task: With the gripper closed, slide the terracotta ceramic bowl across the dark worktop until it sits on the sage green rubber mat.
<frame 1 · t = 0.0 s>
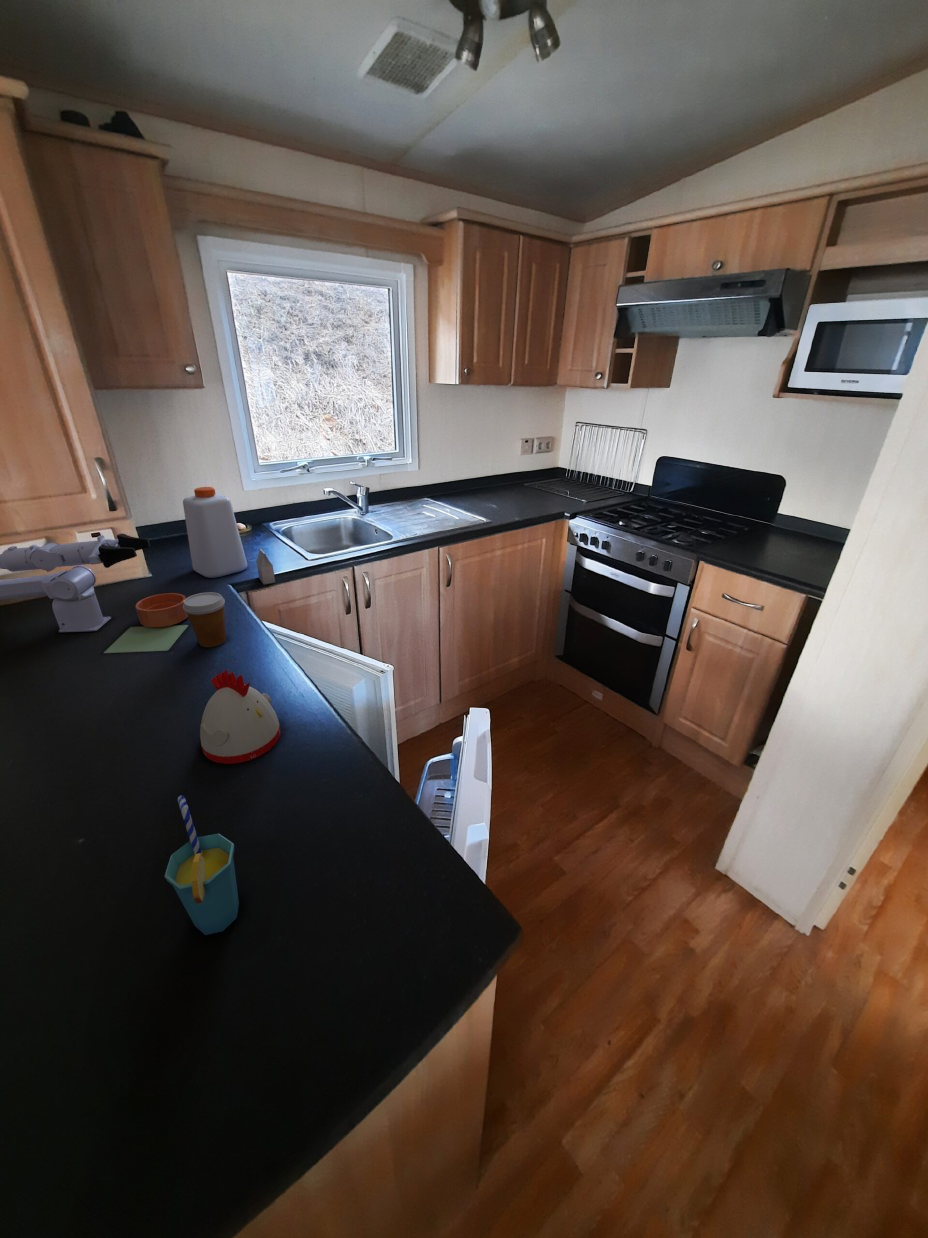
hand: (142, 547, 130), 22 cm above the countertop, tool horizontal, fingers open, 7 cm apart
kitchen timer: (242, 739, 97), on the countertop
plastic bottle: (221, 570, 176), on the countertop
cup: (216, 910, 67), on the countertop
bowl: (165, 619, 141), on the countertop, touching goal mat
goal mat: (148, 638, 131), on the countertop
disposable coffee cup: (213, 642, 131), on the countertop
beige gable carton: (267, 580, 168), on the countertop
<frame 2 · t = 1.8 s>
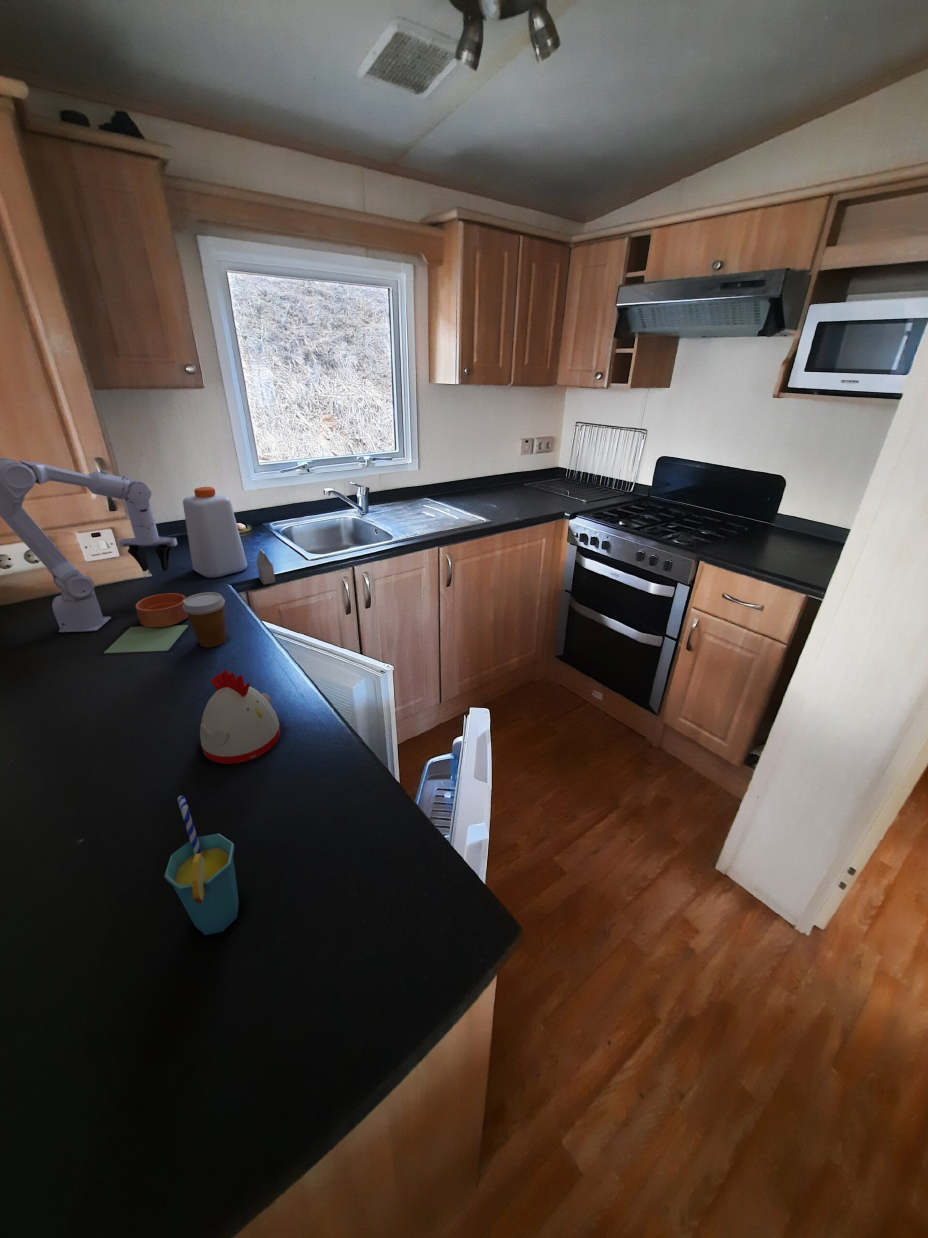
hand: (155, 569, 147), 10 cm above the countertop, tool pointing down, fingers open, 5 cm apart
nothing on the countertop moved.
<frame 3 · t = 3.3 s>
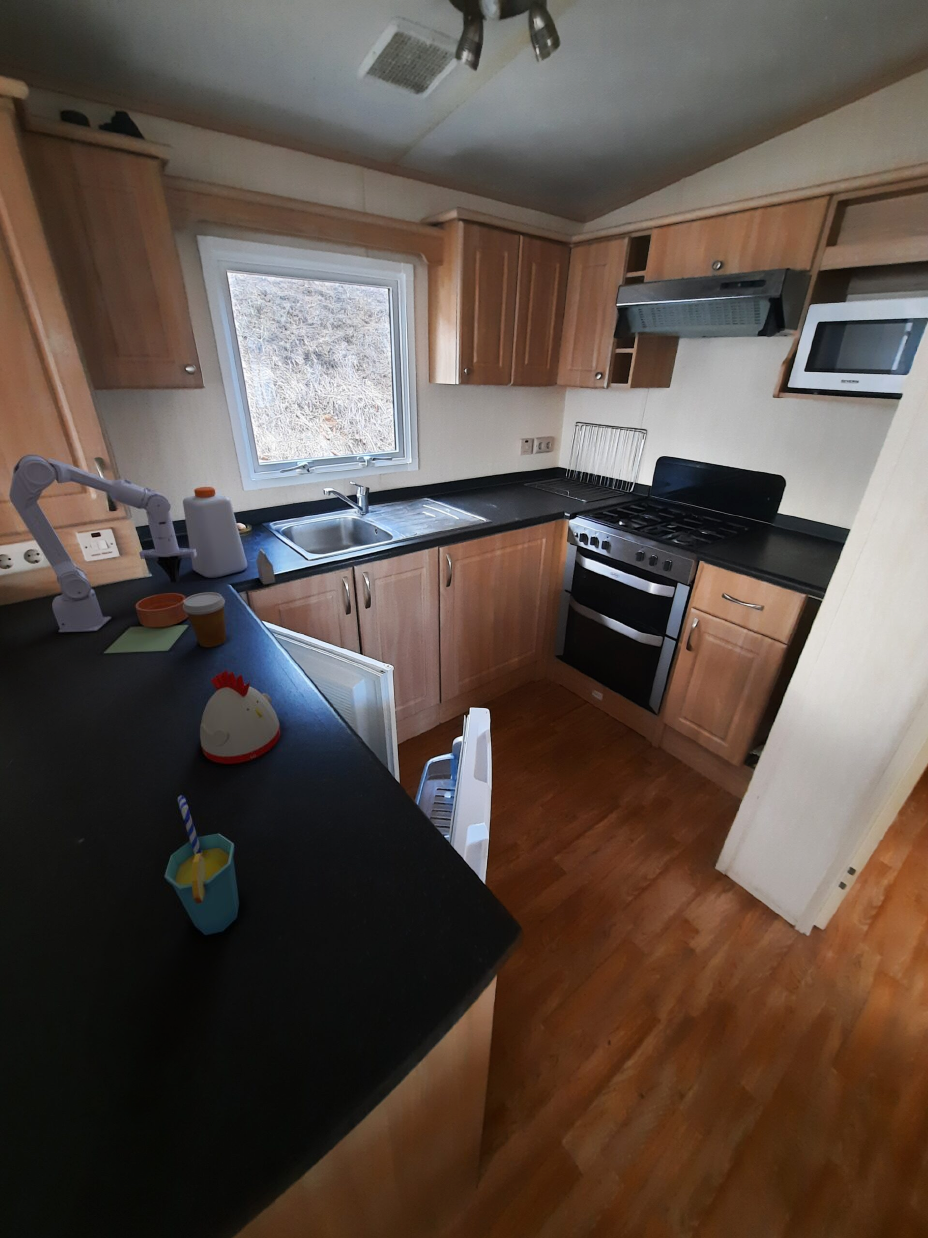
hand: (175, 580, 148), 7 cm above the countertop, tool pointing down, fingers closed
nothing on the countertop moved.
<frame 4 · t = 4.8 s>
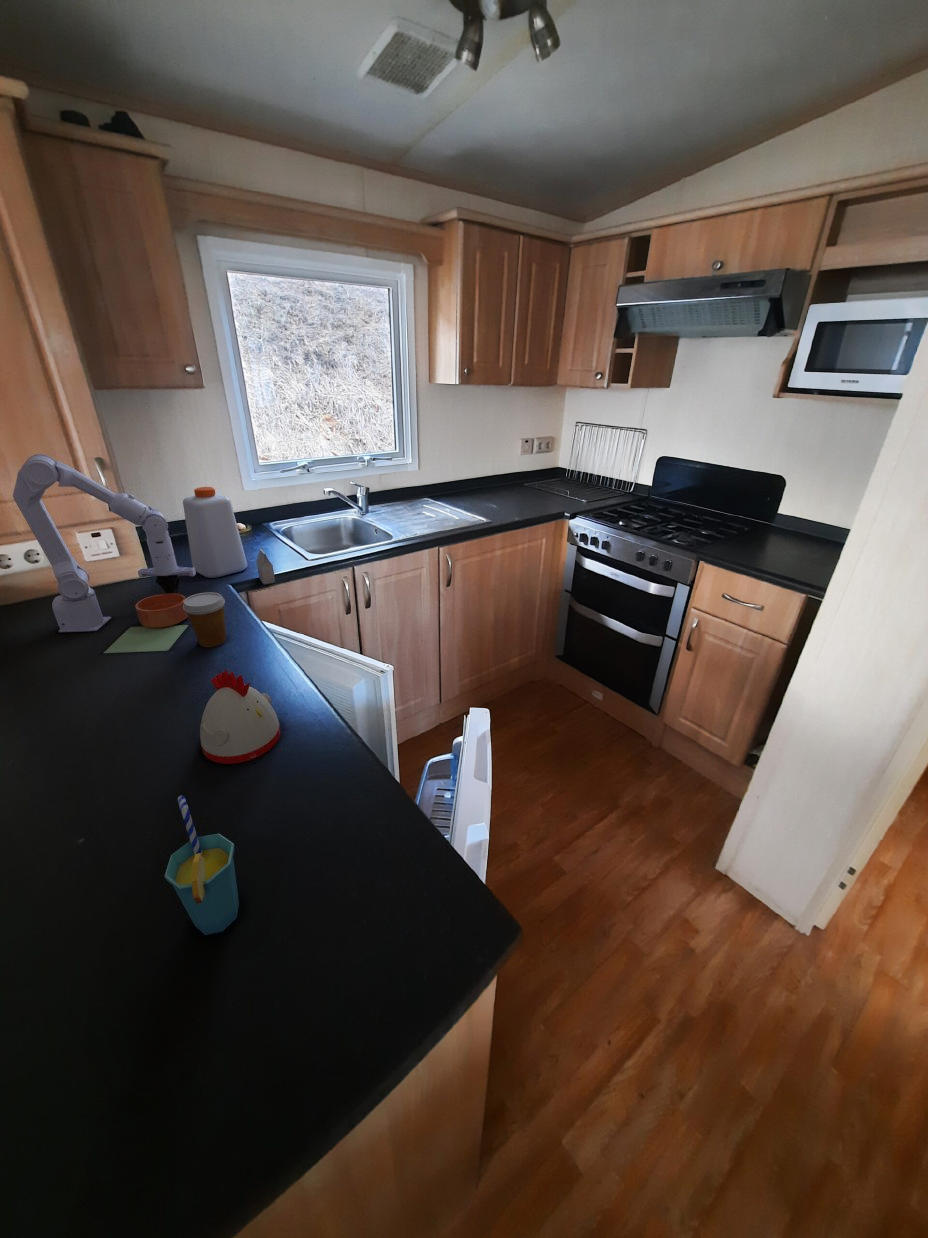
hand: (174, 599, 147), 3 cm above the countertop, tool pointing down, fingers closed, pressing on bowl
bowl: (165, 619, 141), on the countertop, touching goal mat, gripper
everything else where it was.
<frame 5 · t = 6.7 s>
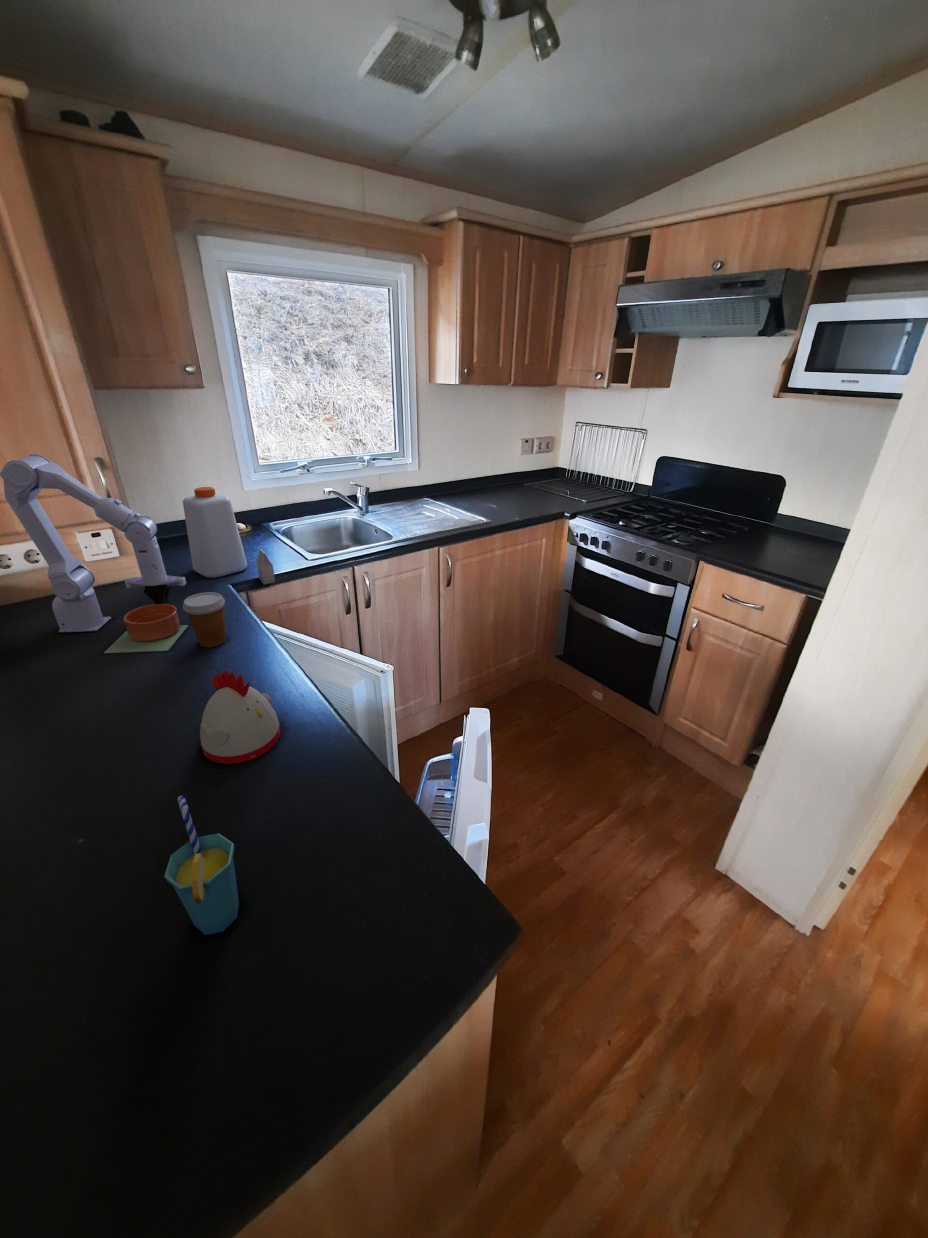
hand: (163, 609, 140), 3 cm above the countertop, tool pointing down, fingers closed, pressing on bowl
bowl: (155, 632, 134), resting on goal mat, touching gripper
everything else where it was.
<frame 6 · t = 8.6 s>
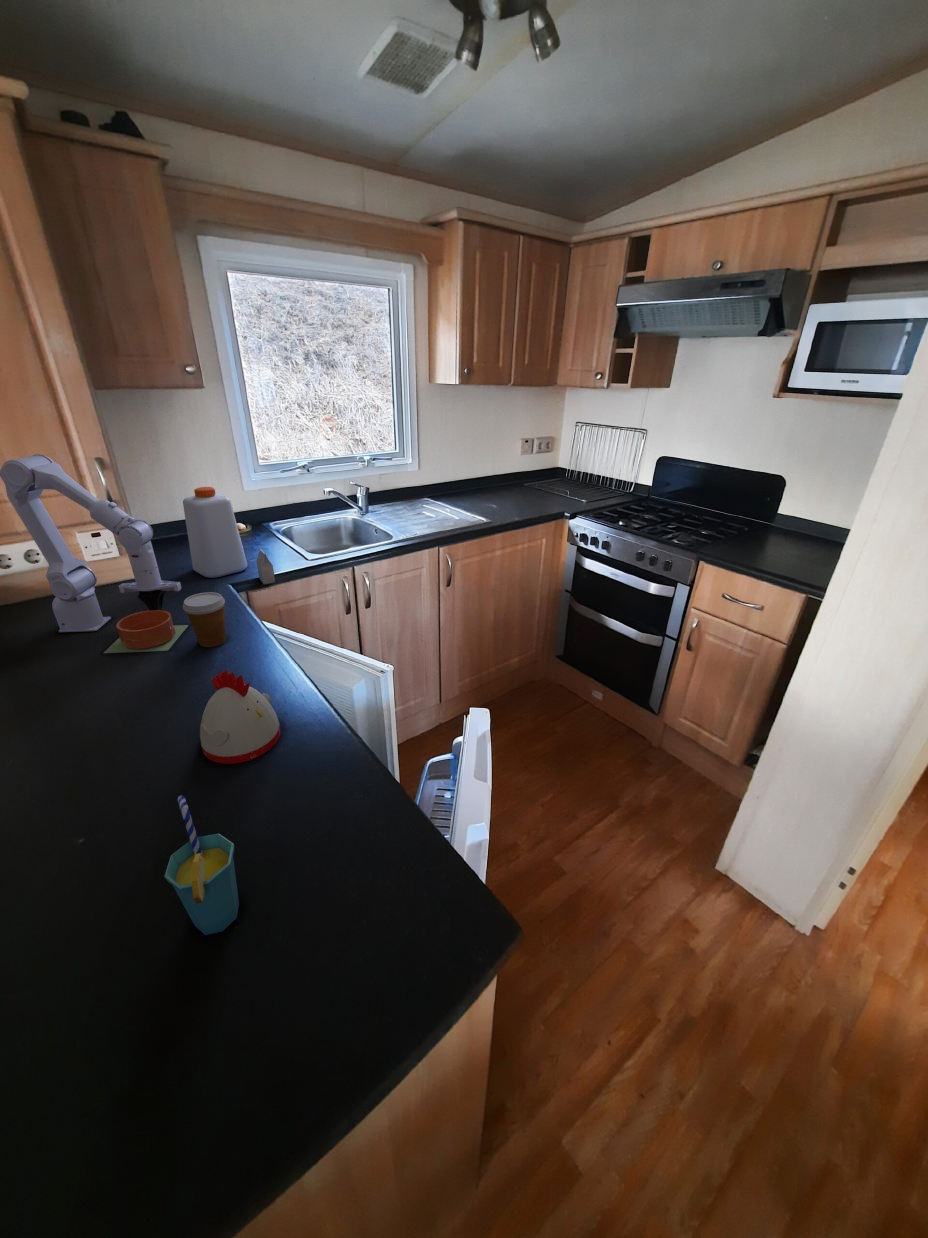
hand: (158, 615, 137), 3 cm above the countertop, tool pointing down, fingers closed
bowl: (149, 639, 131), resting on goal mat
everything else where it was.
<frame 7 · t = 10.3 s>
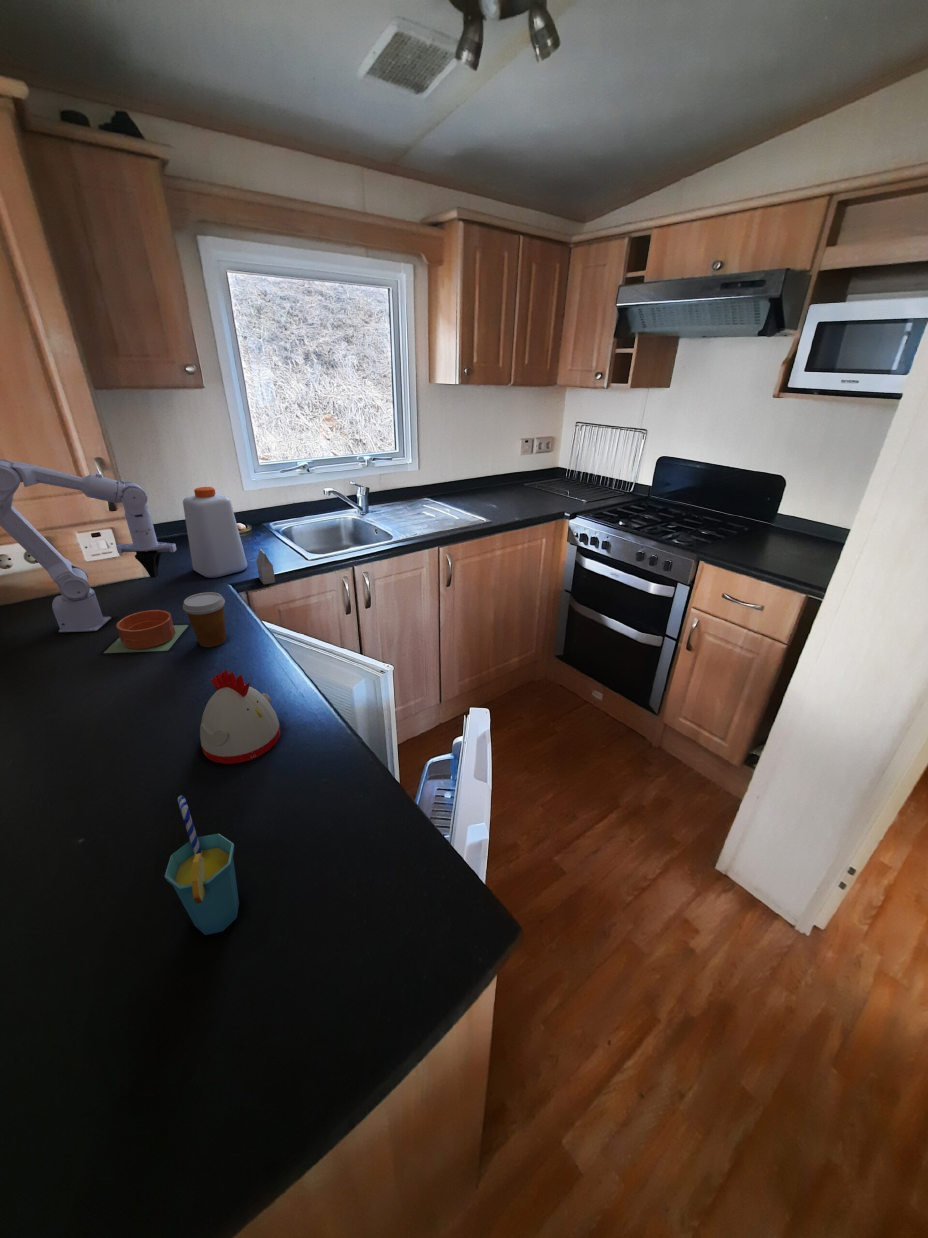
hand: (154, 576, 142), 10 cm above the countertop, tool pointing down, fingers closed
nothing on the countertop moved.
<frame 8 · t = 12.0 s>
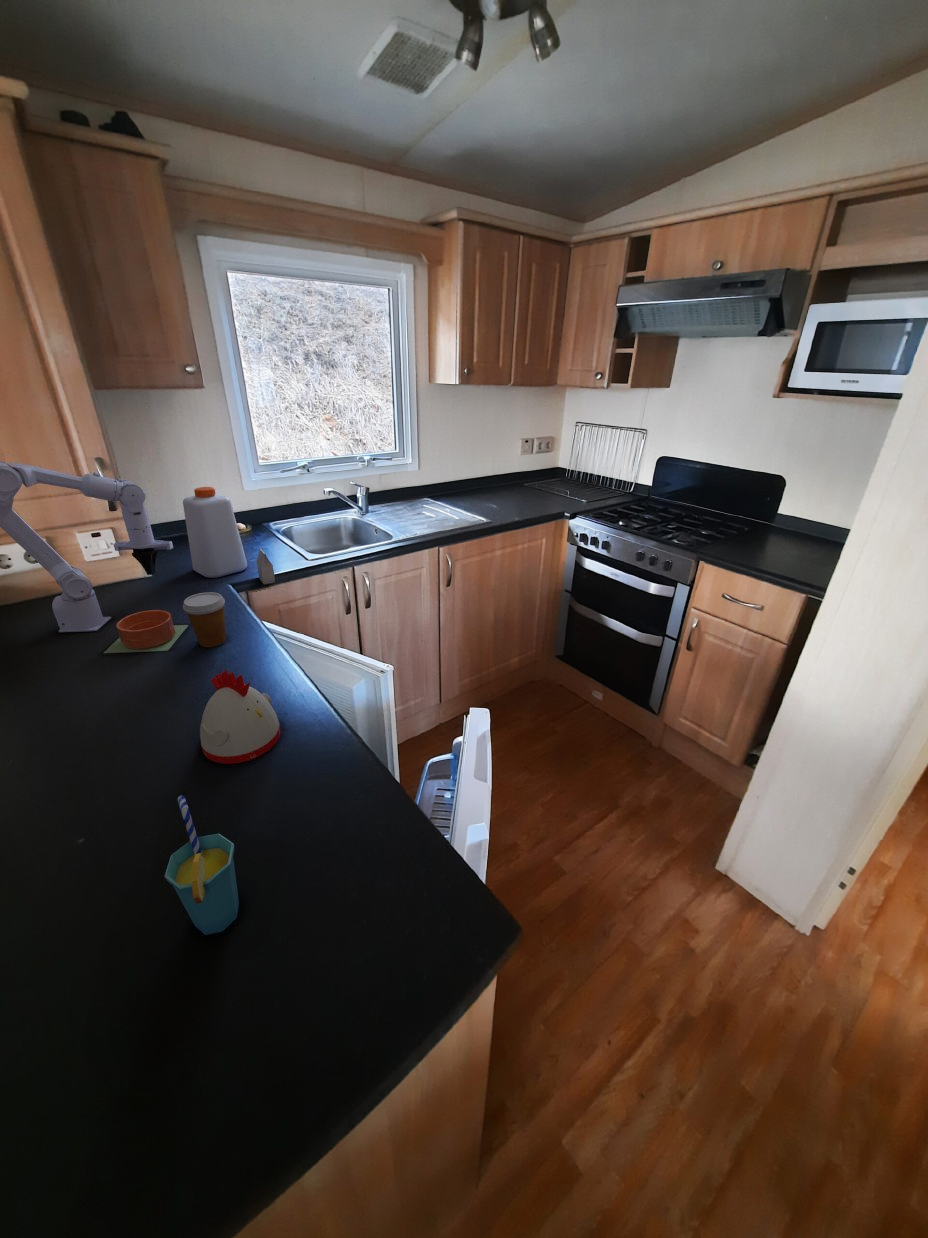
hand: (151, 573, 144), 10 cm above the countertop, tool pointing down, fingers closed
nothing on the countertop moved.
at the end: bowl inside the target area (0.8 cm from its centre), resting on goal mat; bowl tilted 0°; bowl moved 11.6 cm from its start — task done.
